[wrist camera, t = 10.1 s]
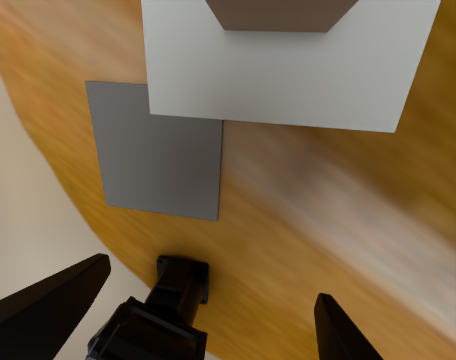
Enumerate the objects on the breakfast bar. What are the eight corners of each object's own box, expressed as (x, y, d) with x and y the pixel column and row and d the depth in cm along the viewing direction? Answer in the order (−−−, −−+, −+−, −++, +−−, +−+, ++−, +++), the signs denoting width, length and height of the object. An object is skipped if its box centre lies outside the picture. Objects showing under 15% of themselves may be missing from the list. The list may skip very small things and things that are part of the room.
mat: (217, 219, 23) (217, 221, 23) (109, 203, 25) (106, 205, 24) (224, 90, 18) (223, 90, 18) (88, 81, 20) (84, 80, 20)
